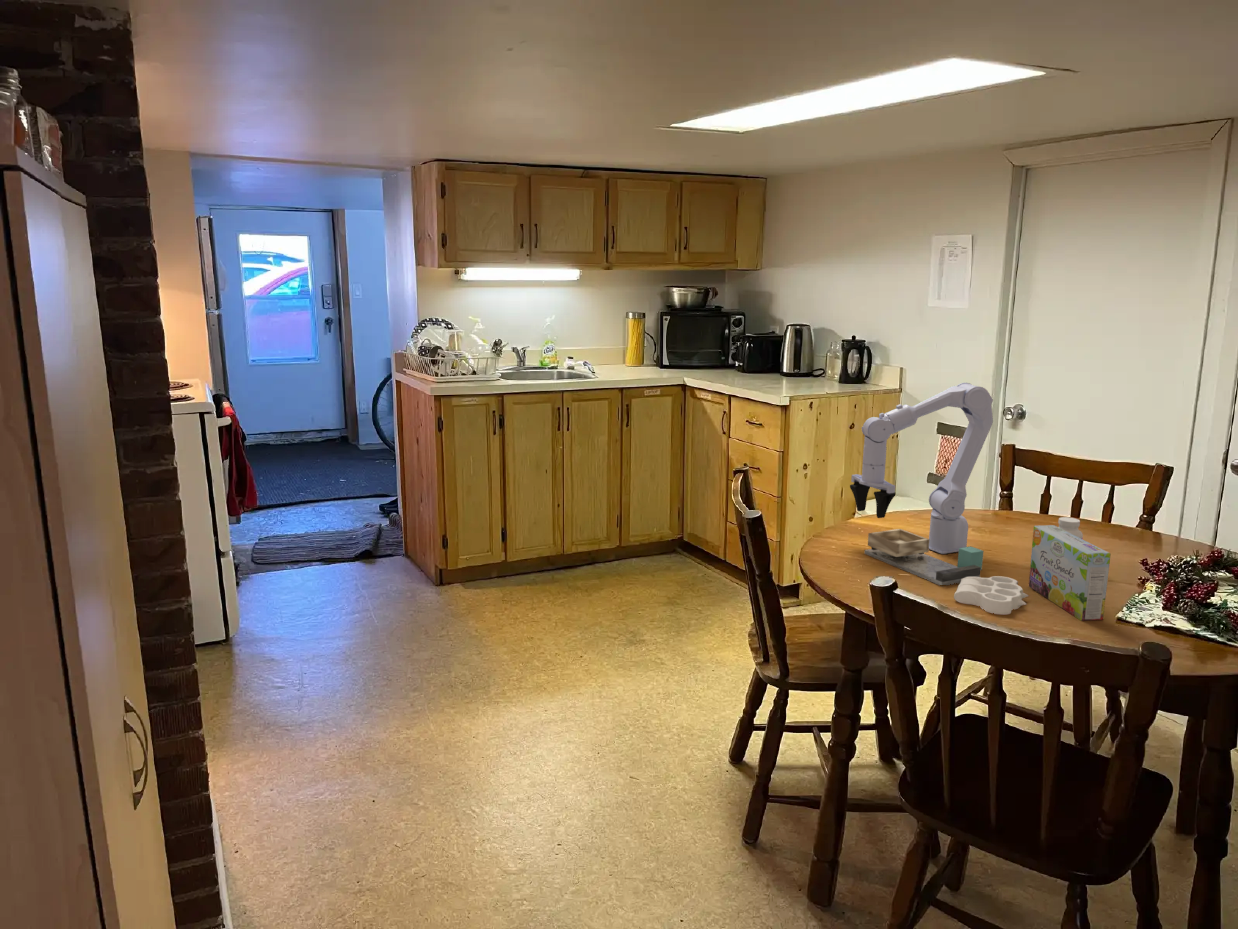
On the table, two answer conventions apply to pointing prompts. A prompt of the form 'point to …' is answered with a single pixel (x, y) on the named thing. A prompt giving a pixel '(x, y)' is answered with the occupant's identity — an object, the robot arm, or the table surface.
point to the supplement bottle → (1070, 526)
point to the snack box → (1069, 572)
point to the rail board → (928, 567)
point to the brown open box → (898, 542)
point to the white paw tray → (991, 593)
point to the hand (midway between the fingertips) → (870, 514)
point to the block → (970, 557)
